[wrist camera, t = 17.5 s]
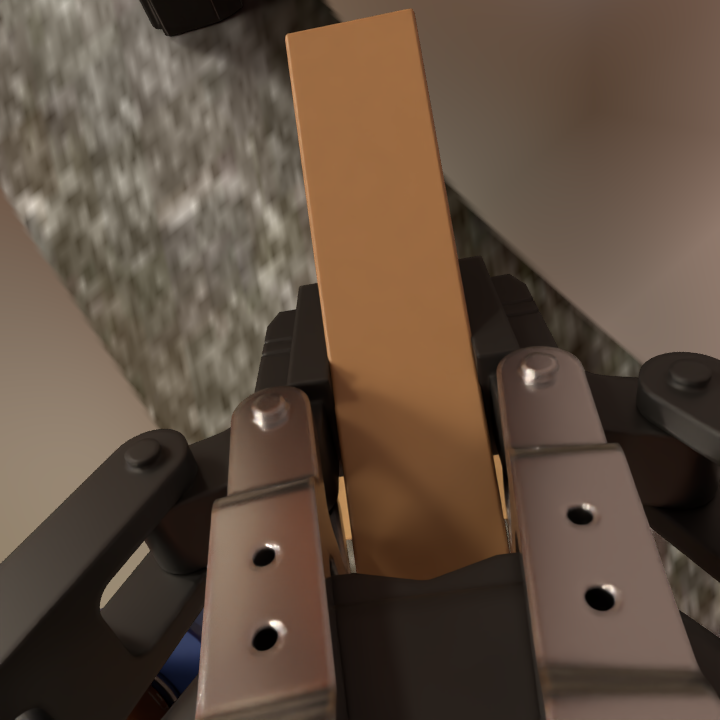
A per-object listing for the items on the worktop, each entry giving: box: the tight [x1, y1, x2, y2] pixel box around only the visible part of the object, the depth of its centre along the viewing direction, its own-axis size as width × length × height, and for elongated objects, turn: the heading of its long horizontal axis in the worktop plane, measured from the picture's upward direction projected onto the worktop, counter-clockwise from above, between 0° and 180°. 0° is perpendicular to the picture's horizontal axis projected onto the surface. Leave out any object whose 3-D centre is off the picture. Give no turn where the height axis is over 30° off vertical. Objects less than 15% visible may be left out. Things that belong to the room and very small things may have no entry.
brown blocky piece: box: [285, 9, 510, 580], centre depth 17 cm, size 4×15×14 cm, turn 8°
